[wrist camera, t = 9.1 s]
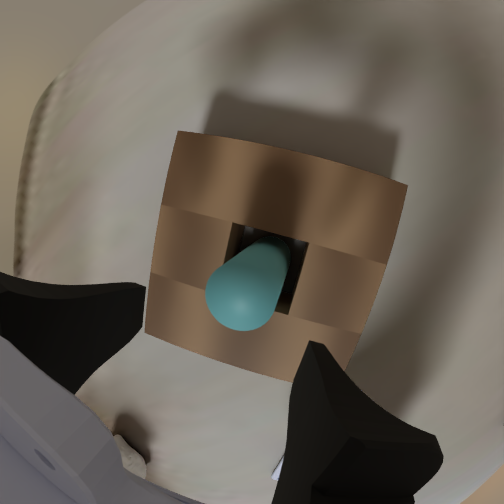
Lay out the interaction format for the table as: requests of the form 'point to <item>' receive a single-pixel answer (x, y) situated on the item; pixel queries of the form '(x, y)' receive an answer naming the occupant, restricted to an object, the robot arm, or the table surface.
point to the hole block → (279, 222)
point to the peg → (249, 285)
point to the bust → (131, 458)
